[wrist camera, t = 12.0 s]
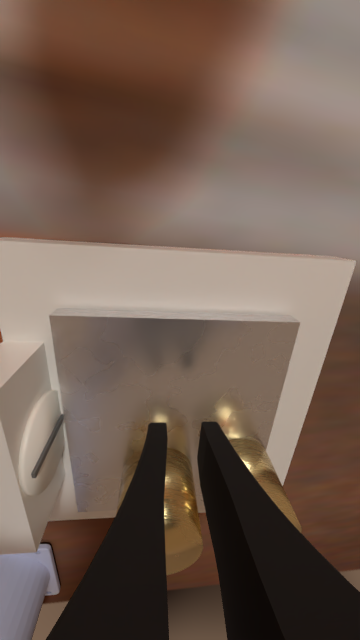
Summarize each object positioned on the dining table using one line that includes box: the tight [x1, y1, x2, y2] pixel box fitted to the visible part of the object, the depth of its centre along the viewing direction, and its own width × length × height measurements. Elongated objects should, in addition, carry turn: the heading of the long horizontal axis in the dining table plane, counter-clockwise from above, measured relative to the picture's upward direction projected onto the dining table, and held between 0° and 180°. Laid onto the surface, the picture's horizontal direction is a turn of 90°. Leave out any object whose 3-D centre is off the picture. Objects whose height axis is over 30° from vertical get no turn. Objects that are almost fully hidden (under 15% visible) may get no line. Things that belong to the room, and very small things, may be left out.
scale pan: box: [49, 308, 300, 512], centre depth 15 cm, size 12×14×1 cm
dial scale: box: [0, 237, 356, 555], centre depth 14 cm, size 18×20×6 cm
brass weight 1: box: [116, 447, 203, 575], centre depth 13 cm, size 4×4×4 cm
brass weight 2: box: [229, 439, 302, 533], centre depth 14 cm, size 4×4×4 cm
